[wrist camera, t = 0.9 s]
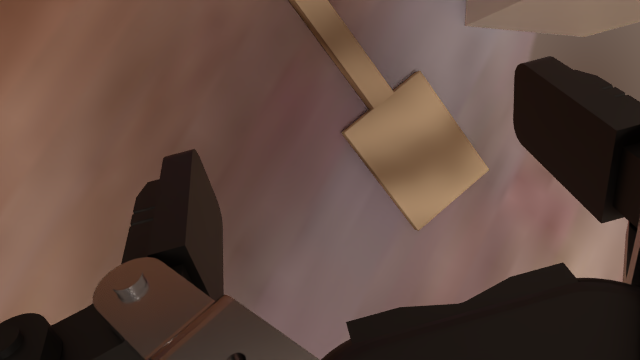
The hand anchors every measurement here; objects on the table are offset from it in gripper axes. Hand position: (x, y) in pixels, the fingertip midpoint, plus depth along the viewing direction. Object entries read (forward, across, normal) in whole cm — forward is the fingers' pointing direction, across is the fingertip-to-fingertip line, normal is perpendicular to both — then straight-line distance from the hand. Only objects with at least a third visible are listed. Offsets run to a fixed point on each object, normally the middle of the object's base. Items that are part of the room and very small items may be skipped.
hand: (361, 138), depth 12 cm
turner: (+22, -4, +9) cm, 24 cm away
